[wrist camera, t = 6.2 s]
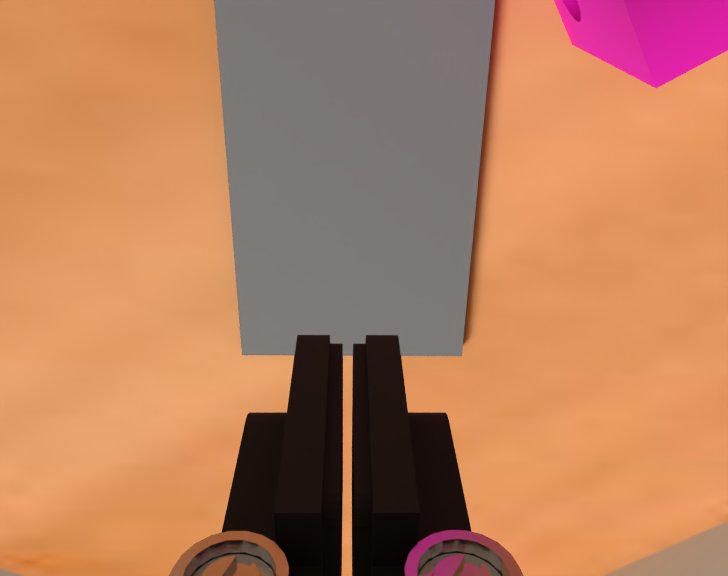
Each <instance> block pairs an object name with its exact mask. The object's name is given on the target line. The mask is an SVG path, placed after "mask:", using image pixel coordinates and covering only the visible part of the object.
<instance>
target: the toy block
mask: <svg viewBox="0 0 728 576" xmlns="http://www.w3.org/2000/svg"><path fill="white" fill-rule="evenodd" d="M554 1H555V4H556V6H557V8H558V11H559V13H560V16H561V18H562V21H563V23H564V25H565V28H566V30H567V33H568V35H569V38H570V40H571V42H572V45H574V46H576V47H578V48H580V49H582V50H584V51H586V52H588V53H590V54H591V55H593V56H595V57H597V58H599V59H601V60H603V61H605V62H607V63H609V64H611V65H613V66H614V67H616V68H618V69H620V70H622V71H624V72H626V73H628V74H630V75H632V76H634V77H635V78H637V79H639V80H641V81H643V82H645V83H647V84H649V85H651V86H653V87H655V88H657V87H659V86H661V85H663V84H665V83H667V82H669V81H671V80H673V79H674V78H676V77H678V76H680V75H682V74H684V73H686V72H688V71H689V70H691V69H693V68H695V67H697V66H699V65H701V64H703V63H705V62H706V61H708V60H710V59H712V58H714V57H716V56H718V55H720V54H722V53H723V52H725V51H727V50H728V0H554Z"/></svg>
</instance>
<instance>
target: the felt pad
mask: <svg viewBox="0 0 728 576" xmlns="http://www.w3.org/2000/svg"><path fill="white" fill-rule="evenodd" d="M214 5H215V18H216V31H217V43H218V56H219V69H220V81H221V94H222V107H223V119H224V132H225V145H226V157H227V170H228V182H229V195H230V208H231V220H232V233H233V246H234V258H235V271H236V284H237V296H238V309H239V322H240V334H241V347H242V355H295V349H296V341H297V335H330V343H332V344H343V355H349V356H353V344H365V341H366V335H398V337H399V345H400V353H401V356H462V348H463V337H464V327H465V316H466V306H467V295H468V284H469V274H470V263H471V252H472V242H473V231H474V220H475V210H476V199H477V189H478V178H479V167H480V157H481V146H482V135H483V125H484V114H485V103H486V93H487V82H488V71H489V61H490V50H491V40H492V29H493V18H494V8H495V0H214Z"/></svg>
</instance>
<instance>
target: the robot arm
mask: <svg viewBox="0 0 728 576" xmlns="http://www.w3.org/2000/svg"><path fill="white" fill-rule="evenodd" d="M342 493H343V344H332V343H330V335H297V341H296V349H295V356H294V364H293V372H292V379H291V387H290V395H289V402H288V410H287V413H249V414H248V415H247V418H246V422H245V426H244V431H243V436H242V440H241V445H240V450H239V454H238V459H237V464H236V468H235V473H234V478H233V482H232V487H231V492H230V496H229V501H228V506H227V510H226V515H225V520H224V524H223V529H222V533H219V534H215V535H211V536H209V537H207V538H205V539H203V540H201V541H199V542H197V543H195V544H194V545H193V546H192V547H191V548H189V549H188V550H187V551H186V552H185V553H184V554H182V555H181V557H180V558H179V560H178V561H177V563H176V564H175V566H174V567H173V569H172V571H171V573H170V575H169V576H341V572H342ZM352 576H523V574H522V572H521V569H520V567H519V566H518V564H517V563H516V561H515V560H514V558H513V557H512V555H511V554H510V553H509V552H508V551H507V550H506V549H505V548H504V547H502V546H501V545H500V544H499V543H498V542H496V541H494V540H492V539H490V538H488V537H486V536H484V535H482V534H478V533H474V532H471V527H470V522H469V518H468V513H467V508H466V503H465V498H464V493H463V488H462V483H461V478H460V473H459V469H458V464H457V459H456V454H455V449H454V444H453V439H452V434H451V429H450V424H449V420H448V416H447V414H446V413H408V410H407V402H406V394H405V386H404V378H403V369H402V361H401V353H400V345H399V337H398V335H366V341H365V344H353V409H352Z"/></svg>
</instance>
